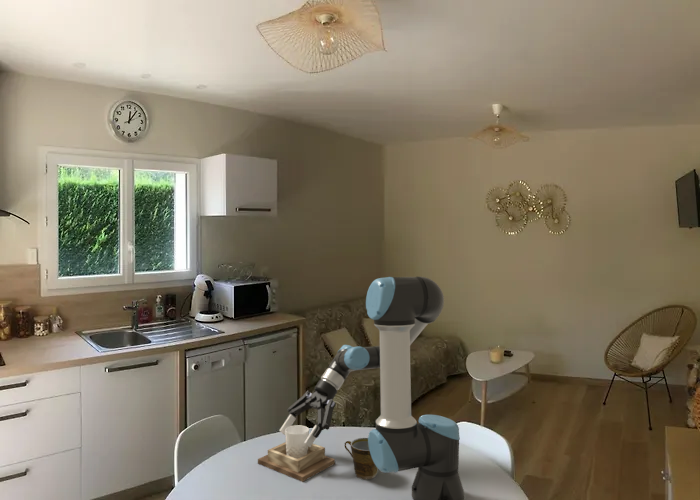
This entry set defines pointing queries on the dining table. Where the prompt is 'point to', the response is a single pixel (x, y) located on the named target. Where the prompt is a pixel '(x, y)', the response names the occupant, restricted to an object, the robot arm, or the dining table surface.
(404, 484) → the dining table surface
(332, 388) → the robot arm
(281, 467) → the tray
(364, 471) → the ceramic cup
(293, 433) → the white cup
